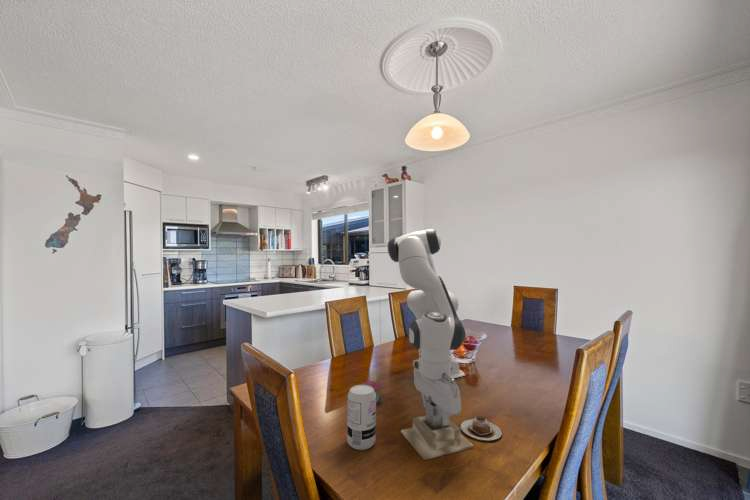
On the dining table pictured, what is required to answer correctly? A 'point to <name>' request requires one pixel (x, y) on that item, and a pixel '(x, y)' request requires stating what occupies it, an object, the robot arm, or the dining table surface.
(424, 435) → the well
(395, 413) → the dining table surface
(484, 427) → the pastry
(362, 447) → the supplement can
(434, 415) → the grey long block
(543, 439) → the dining table surface
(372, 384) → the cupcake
